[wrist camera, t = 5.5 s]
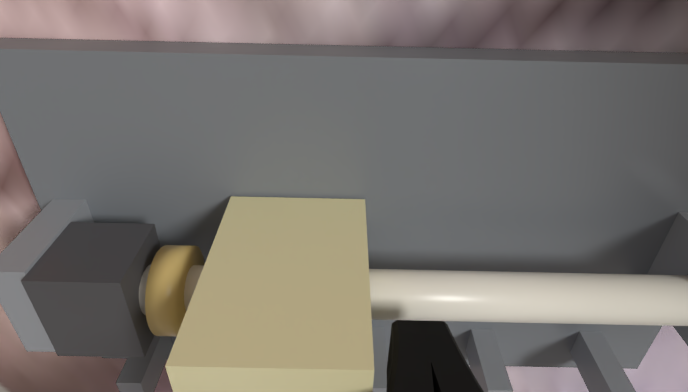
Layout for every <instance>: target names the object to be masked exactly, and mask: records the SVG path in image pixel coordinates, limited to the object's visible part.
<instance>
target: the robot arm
mask: <svg viewBox="0 0 688 392" xmlns="http://www.w3.org/2000/svg"><path fill="white" fill-rule="evenodd" d="M387 392H484V391H483V389H482V388H481V386H480V385H479V383H478V381H477V379H476V378H475V376H474V374H473V373H472V371H471V369H470V367H469V365H468V364H467V362H466V360H465V358H464V356H463V355H462V353H461V351H460V349H459V347H458V345H457V343H456V341H455V339H454V337H453V335H452V333H451V331H450V329H449V327H448V325H447V324H446V323H445V322H444V321H419V320H396V321H395V322H393V323H392V326H391V335H390V344H389V352H388V361H387Z"/></svg>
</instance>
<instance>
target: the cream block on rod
mask: <svg viewBox="0 0 688 392" xmlns="http://www.w3.org/2000/svg"><path fill="white" fill-rule="evenodd" d="M165 367H166V371H167V374H168V377H169V380H170V384H171V387H172V390H173V392H373V381H374V353H373V335H372V316H371V298H370V279H369V261H368V242H367V224H366V205H365V199H330V198H284V197H237V196H231V197H230V200H229V203H228V205H227V208H226V210H225V213H224V215H223V218H222V221H221V223H220V226H219V228H218V231H217V234H216V236H215V239H214V241H213V244H212V246H211V249H210V252H209V254H208V257H207V259H206V262H205V265H204V267H203V270H202V272H201V275H200V277H199V280H198V283H197V285H196V288H195V290H194V293H193V296H192V298H191V301H190V303H189V306H188V309H187V311H186V314H185V316H184V319H183V321H182V324H181V327H180V329H179V332H178V334H177V337H176V340H175V342H174V345H173V347H172V350H171V352H170V355H169V358H168V360H167V363H166V365H165Z"/></svg>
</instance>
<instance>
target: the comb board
mask: <svg viewBox="0 0 688 392" xmlns="http://www.w3.org/2000/svg"><path fill="white" fill-rule="evenodd" d="M0 112H1V115H2V117H3V120H4V122H5V124H6V127H7V129H8V132H9V134H10V136H11V139H12V141H13V144H14V146H15V148H16V151H17V153H18V156H19V158H20V160H21V163H22V165H23V168H24V170H25V173H26V175H27V177H28V180H29V182H30V185H31V187H32V189H33V192H34V194H35V197H36V199H37V201H38V204H39V206H40V209H41V212H40V213H39V214H38V215H37V216H36V217H35V218H34V219H33V220H32V221H31V222H30V223H29V224H28V225H27V226H26V227H25V228H24V230H23V231H22V232H21V233H20V234H19V235H18V236H17V237H16V238H15V239H14V240H13V241H12V242H11V243H10V244H9V245H8V246H7V247H6V248H5V249H4V250H3V251H2V252H1V253H0V303H1V305H2V307H3V309H4V311H5V312H6V314H7V316H8V318H9V320H10V322H11V323H12V325H13V327H14V329H15V331H16V333H17V334H18V336H19V338H20V340H21V342H22V343H23V345H24V347H25V349H26V351H38V352H56V353H57V355H58V356H100V357H102V358H127V360H126V363H125V365H124V367H123V369H122V371H121V373H120V375H119V377H118V379H117V382H116V384H117V387H118V389H119V391H120V392H154V390H155V388H156V385H157V383H158V380H159V377H160V375H161V372H162V370H163V367H164V365H165V362H166V360H167V359H168V358H169V355H170V352H171V350H172V347H173V345H174V342H175V340H176V337H177V334H178V332H179V329H180V327H181V324H182V321H183V319H184V316H185V314H186V311H187V309H188V306H189V303H190V301H191V298H192V296H193V293H194V290H195V288H196V285H197V283H198V280H199V277H200V275H201V272H202V270H203V267H204V265H205V262H206V259H207V257H208V254H209V252H210V249H211V246H212V244H213V241H214V239H215V236H216V234H217V231H218V228H219V226H220V223H221V221H222V218H223V215H224V213H225V210H226V208H227V205H228V203H229V200H230V197H231V196H237V197H284V198H330V199H365V205H366V224H367V242H368V261H369V279H370V298H371V316H372V335H373V353H374V381H373V392H387V361H388V352H389V344H390V335H391V326H392V323H393V322H395V321H396V320H419V321H444V322H445V323H446V324H447V325H448V327H449V329H450V331H451V333H452V335H453V337H454V339H455V341H456V343H457V345H458V347H459V349H460V351H461V353H462V355H463V356H464V358H465V360H466V362H467V364H468V365H470V369H471V371H472V373H473V374H474V376H475V378H476V379H477V381H478V383H479V385H480V386H481V388H482V389H483V391H484V392H513V389H512V386H511V383H510V380H509V377H508V374H507V371H506V368H505V366H531V367H578V370H579V372H580V374H581V376H582V378H583V380H584V382H585V384H586V386H587V388H588V390H589V392H636V391H635V389H634V388H633V386H632V384H631V382H630V381H629V379H628V377H627V375H626V374H625V372H624V370H623V368H631V369H637V368H638V366H639V365H640V363H641V361H642V359H643V358H644V356H645V354H646V353H647V351H648V349H649V347H650V346H651V344H652V342H653V341H654V339H655V337H656V335H657V334H658V332H659V330H660V329H661V327H662V326H673V327H674V328H675V329H676V331H677V332H678V333H679V335H680V336H681V337H682V339H683V340H684V341H685V343H686V344H687V345H688V53H650V52H606V51H562V50H518V49H474V48H430V47H386V46H342V45H298V44H253V43H209V42H165V41H121V40H77V39H33V38H0Z"/></svg>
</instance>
